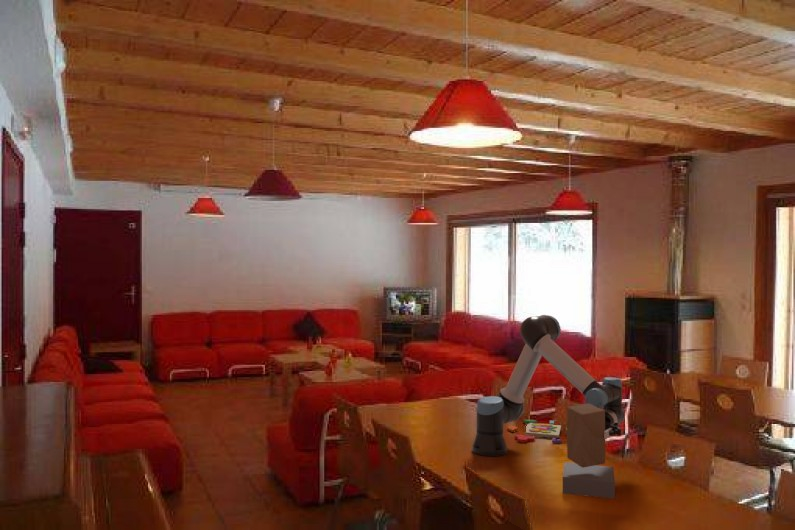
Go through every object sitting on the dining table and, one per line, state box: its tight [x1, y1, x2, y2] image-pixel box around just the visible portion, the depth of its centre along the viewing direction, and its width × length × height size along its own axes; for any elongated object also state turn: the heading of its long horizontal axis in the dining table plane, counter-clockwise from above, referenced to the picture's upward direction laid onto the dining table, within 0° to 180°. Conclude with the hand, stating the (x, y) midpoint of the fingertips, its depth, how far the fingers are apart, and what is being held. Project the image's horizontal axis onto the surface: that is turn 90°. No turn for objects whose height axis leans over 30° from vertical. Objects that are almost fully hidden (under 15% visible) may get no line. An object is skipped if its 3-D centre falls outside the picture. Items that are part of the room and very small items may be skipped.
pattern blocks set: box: [506, 419, 567, 444], centre depth 317 cm, size 38×34×3 cm
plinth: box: [562, 461, 616, 499], centre depth 240 cm, size 18×18×6 cm
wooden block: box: [566, 402, 606, 468], centre depth 237 cm, size 10×10×20 cm
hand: (586, 432), depth 237 cm, fingers closed on wooden block, 13 cm apart
